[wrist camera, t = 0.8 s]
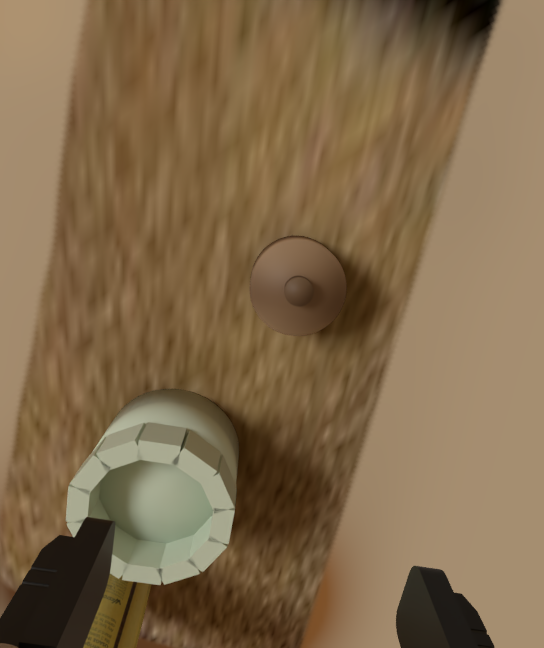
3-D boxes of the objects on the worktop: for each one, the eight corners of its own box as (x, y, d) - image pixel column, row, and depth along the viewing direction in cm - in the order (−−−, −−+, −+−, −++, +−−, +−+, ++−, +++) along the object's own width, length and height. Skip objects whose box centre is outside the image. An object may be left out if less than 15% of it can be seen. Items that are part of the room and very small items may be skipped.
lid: (259, 228, 29) (258, 233, 26) (347, 244, 30) (358, 251, 26) (244, 314, 31) (241, 331, 27) (328, 328, 31) (337, 347, 28)
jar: (113, 378, 32) (73, 429, 25) (249, 400, 32) (244, 456, 26) (101, 496, 34) (61, 571, 27) (228, 514, 35) (219, 593, 28)
